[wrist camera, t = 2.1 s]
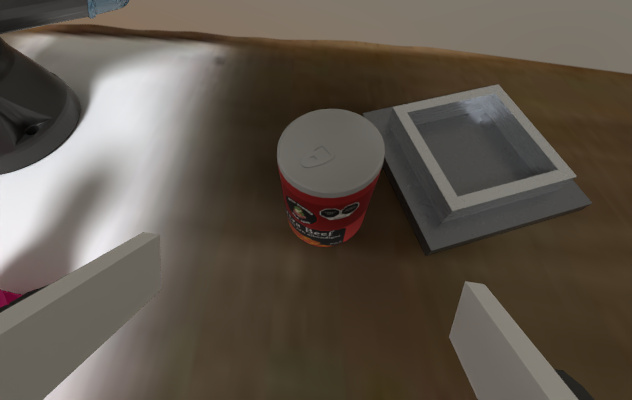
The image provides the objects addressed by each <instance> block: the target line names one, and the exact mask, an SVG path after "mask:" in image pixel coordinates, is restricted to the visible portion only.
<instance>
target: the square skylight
mask: <svg viewBox="0 0 632 400" xmlns="http://www.w3.org/2000/svg"><path fill="white" fill-rule="evenodd" d="M362 116H363V117H365V118H366V119H367V120H369V121H370V122H371V123H373V125H374V126H375V127H376V128H377V129H378V131H379V132H380V134H381V136H382V138H383V141H384V145H385V155H384V161H383V166H382V167H383V169H384V171H385V173H386V175H387V177H388V179H389V181H390V183H391V185H392V187H393V189H394V191H395V193H396V195H397V198H398V200H399V202H400V204H401V206H402V208H403V210H404V212H405V214H406V216H407V218H408V220H409V222H410V224H411V226H412V228H413V230H414V233H415V235H416V237H417V239H418V241H419V243H420V245H421V247H422V249H423V251H424V253H425V255H426V256H427V255H431V254H434V253H438V252H441V251H444V250H448V249H451V248H454V247H458V246H461V245H465V244H468V243H471V242H475V241H478V240H481V239H485V238H488V237H492V236H495V235H498V234H502V233H505V232H508V231H512V230H515V229H519V228H522V227H525V226H529V225H532V224H536V223H539V222H542V221H546V220H549V219H552V218H556V217H559V216H563V215H566V214H569V213H573V212H576V211H579V210H582V209H584V208H585V207H587V206H589V205H591V204H592V202H591V201H590V200H589V199H588V198H587V196H586V195H585V194H584V193H583V192H582V190H581V189H580V188H579V187H578V186H577V184H576V183H575V182H574V181H573V179H575V178H576V177H577V176H576V175H575V174H574V172H573V171H572V170H571V169H570V168H569V167H568V165H567V164H566V163H565V162H564V161H563V160H562V158H561V157H560V156H559V155H558V154H557V153H556V151H555V150H554V149H553V148H552V147H551V145H550V144H549V143H548V142H547V141H546V140H545V138H544V137H543V136H542V135H541V134H540V133H539V131H538V130H537V129H536V128H535V127H534V126H533V124H532V123H531V122H530V121H529V120H528V119H527V117H526V116H525V115H524V114H523V113H522V111H521V110H520V109H519V108H518V107H517V106H516V104H515V103H514V102H513V101H512V100H511V99H510V97H509V96H508V95H507V94H506V93H505V92H504V90H503V89H502V88H501V87H500V86H499V84H498V85H492V86H488V87H483V88H478V89H474V90H469V91H464V92H459V93H455V94H450V95H445V96H441V97H436V98H431V99H427V100H422V101H417V102H413V103H408V104H403V105H399V106H394V107H389V108H385V109H380V110H375V111H371V112H366V113H363V114H362Z"/></svg>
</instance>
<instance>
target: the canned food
mask: <svg viewBox="0 0 632 400" xmlns="http://www.w3.org/2000/svg"><path fill="white" fill-rule="evenodd" d="M384 155H385V145H384V141H383V138H382V136H381V134H380V132H379V131H378V129H377V128H376V127H375V126H374V125H373V123H371V122H370V121H369V120H367V119H366V118H365V117H363V116H361V115H359V114H357V113H354V112H351V111H347V110H342V109H322V110H316V111H313V112H309V113H307V114H305V115H302V116H300V117H299V118H297V119H296V120H294V121H293V122H292V123H291V124H290V125H289V126H287V128H286V129H285V130H284V132H283V133H282V135H281V137H280V139H279V142H278V147H277V162H278V168H279V175H280V181H281V186H282V191H283V196H284V202H285V207H286V212H287V218H288V221H289V224H290V227H291V228H292V230H293V232H294V233H295V234H296V235H297V236H298V237H299V238H301V239H302V240H303V241H305V242H306V243H309V244H311V245H314V246H319V247H330V246H335V245H338V244H341V243H343V242H345V241H347V240H348V239H350V238H351V237H352V236H353V235H354V234H356V232H357V231H358V230H359V228H360V226H361V224H362V222H363V220H364V217H365V214H366V211H367V209H368V206H369V203H370V200H371V197H372V195H373V192H374V189H375V186H376V184H377V181H378V178H379V175H380V172H381V169H382V166H383V161H384Z"/></svg>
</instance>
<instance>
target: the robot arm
mask: <svg viewBox="0 0 632 400" xmlns="http://www.w3.org/2000/svg"><path fill="white" fill-rule="evenodd" d="M128 2H129V0H0V34H3V33H8V32H13V31H18V30H23V29H28V28H33V27H38V26H43V25H48V24H53V23H58V22H63V21H69V20H74V19H78V18H84V17H89V18H90V19H91V18H94V17H96V15H97V14H101V13H105V12H109V11H113V10H117V9H120V8H122V7H124V6H126V5H127V3H128ZM79 116H80V103H79V100H78V98H77V96H76V95H75V94H74V92H73V91H72V90H71V89H70V88H69V87H68V86H67V85H66V84H65V82H64V81H63V80H61V79H60V78H59V77H58V76H56V75H55V74H53V73H51V72H49V71H47V70H46V69H45V68H43V67H42V66H40V65H39V64H37V63H36V62H34V61H33V60H31V59H30V58H28V57H27V56H25V55H24V54H22V53H21V52H19V51H17V50H16V49H14V48H13V47H11V46H10V45H8V44H7V43H6V42H5V41H4V40H3V39H2V38H1V37H0V174H4V173H8V172H12V171H15V170H18V169H20V168H23V167H25V166H28V165H30V164H32V163H34V162H36V161H38V160H40V159H41V158H43V157H45V156H46V155H48V154H49V153H50V152H52V151H53V150H54V149H56V148H57V147H58V146H59V145H60V144H61V143H62V142H63V141H64V140H65V139H66V138H67V137H68V136H69V135H70V134H71V132H72V131H73V129H74V128H75V126H76V124H77V122H78V119H79ZM160 290H162V284H161V257H160V235H158V234H151V233H144V232H143V233H141V234H139V235H137V236H136V237H134V238H132V239H130V240H129V241H127V242H125V243H123V244H121V245H120V246H118V247H116V248H114V249H113V250H111V251H109V252H107V253H105V254H104V255H102V256H100V257H98V258H97V259H95V260H93V261H91V262H89V263H88V264H86V265H84V266H82V267H81V268H79V269H77V270H75V271H74V272H72V273H70V274H68V275H66V276H65V277H63V278H61V279H59V280H58V281H56V282H54V283H52V284H50V285H47V286H44V287H42V288H39V289H36V290H33V291H31V292H28V293H26V294H24V295H22V296H21V297H19V298H17V299H15V300H13V301H11V302H10V303H9V305H4V306H2V307H1V308H0V400H43V399H44V398H45V397H46V396H47V395H48V394H49V393H50V392H51V391H52V390H54V389H55V388H56V387H57V386H58V385H59V384H60V383H61V382H62V381H63V380H64V379H65V378H67V377H68V376H69V375H70V374H71V373H72V372H73V371H74V370H75V369H76V368H77V367H78V366H79V365H81V364H82V363H83V362H84V361H85V360H86V359H87V358H88V357H89V356H90V355H91V354H92V353H94V352H95V351H96V350H97V349H98V348H99V347H100V346H101V345H102V344H103V343H104V342H105V341H106V340H108V339H109V338H110V337H111V336H112V335H113V334H114V333H115V332H116V331H117V330H118V329H119V328H121V327H122V326H123V325H124V324H125V323H126V322H127V321H128V320H129V319H130V318H131V317H132V316H133V315H135V314H136V313H137V312H138V311H139V310H140V309H141V308H142V307H143V306H144V305H145V304H146V303H148V302H149V301H150V300H151V299H152V298H153V297H154V296H155V295H156V294H157V293H158V292H159V291H160ZM449 338H450V340H451V342H452V344H453V347H454V349H455V351H456V353H457V355H458V357H459V360H460V362H461V364H462V366H463V368H464V370H465V373H466V375H467V377H468V379H469V381H470V383H471V386H472V388H473V390H474V392H475V394H476V397H477V399H478V400H594V399H593V398H592V396H591V395H590V394H589V393H588V392H587V391H586V389H585V388H584V387H583V386H582V385H580V384H579V383H578V382H577V381H575V380H574V379H573V378H572V377H570V376H569V375H568V374H567V373H565V372H564V371H563V370H557V369H553V368H552V367H551V365H550V364H549V363H548V362H547V360H546V359H545V358H544V357H543V356H542V354H541V353H540V352H539V351H538V349H537V348H536V347H535V346H534V345H533V343H532V342H531V341H530V340H529V338H528V337H527V336H526V335H525V333H524V332H523V331H522V330H521V329H520V327H519V326H518V325H517V324H516V322H515V321H514V320H513V319H512V318H511V316H510V315H509V314H508V313H507V311H506V310H505V309H504V308H503V306H502V305H501V304H500V303H499V302H498V300H497V299H496V298H495V297H494V295H493V294H492V293H491V292H490V291H489V289H488V288H487V287H486V286H485V284H479V283H472V282H466V281H465V284H464V287H463V291H462V294H461V298H460V301H459V305H458V308H457V312H456V315H455V318H454V322H453V325H452V329H451V332H450V336H449Z"/></svg>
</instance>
